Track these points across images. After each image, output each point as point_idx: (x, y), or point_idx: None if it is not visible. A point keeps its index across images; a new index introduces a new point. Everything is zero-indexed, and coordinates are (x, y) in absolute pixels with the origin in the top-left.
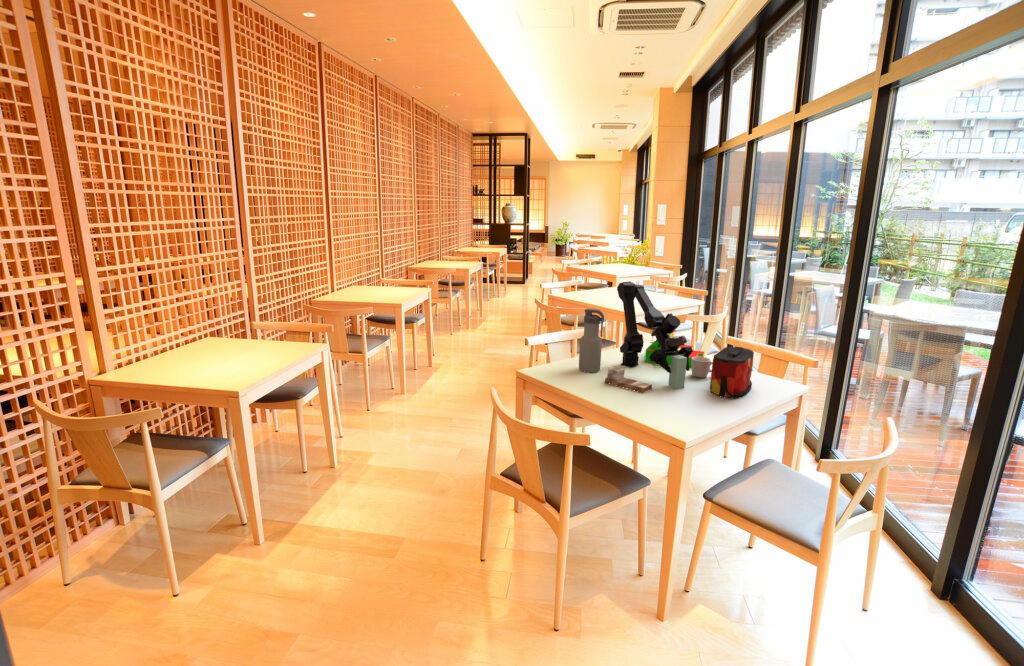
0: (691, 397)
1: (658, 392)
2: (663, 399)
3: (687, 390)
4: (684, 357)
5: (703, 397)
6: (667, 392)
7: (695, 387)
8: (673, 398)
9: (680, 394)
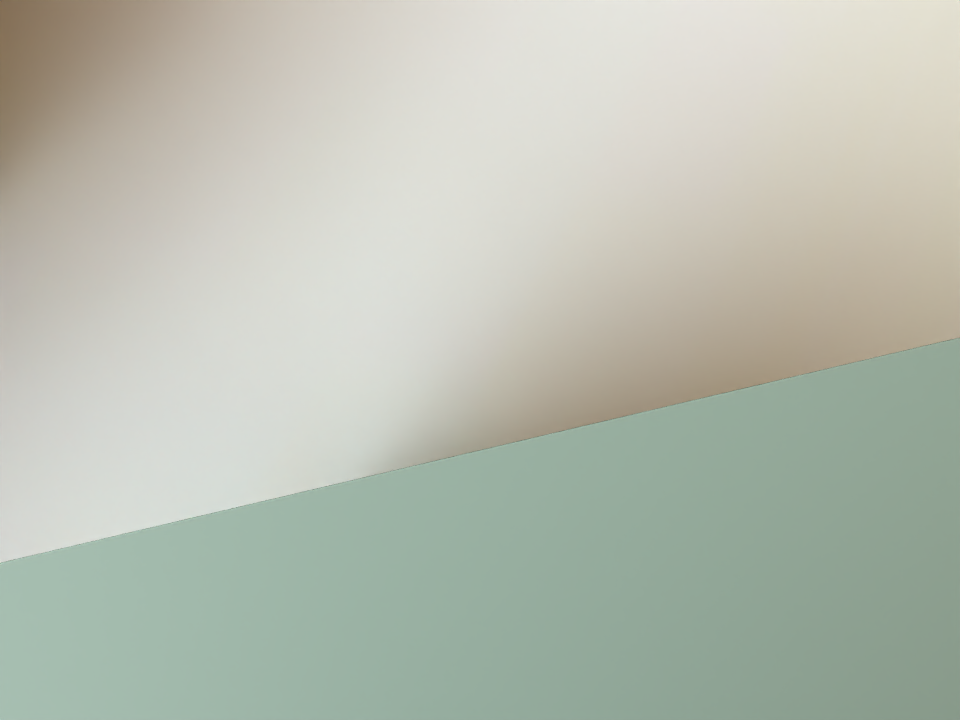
0: (443, 50)
1: (895, 352)
2: (912, 55)
3: (325, 380)
4: (226, 704)
5: (235, 14)
6: (744, 330)
7: (45, 535)
8: (751, 64)
9: (561, 205)
